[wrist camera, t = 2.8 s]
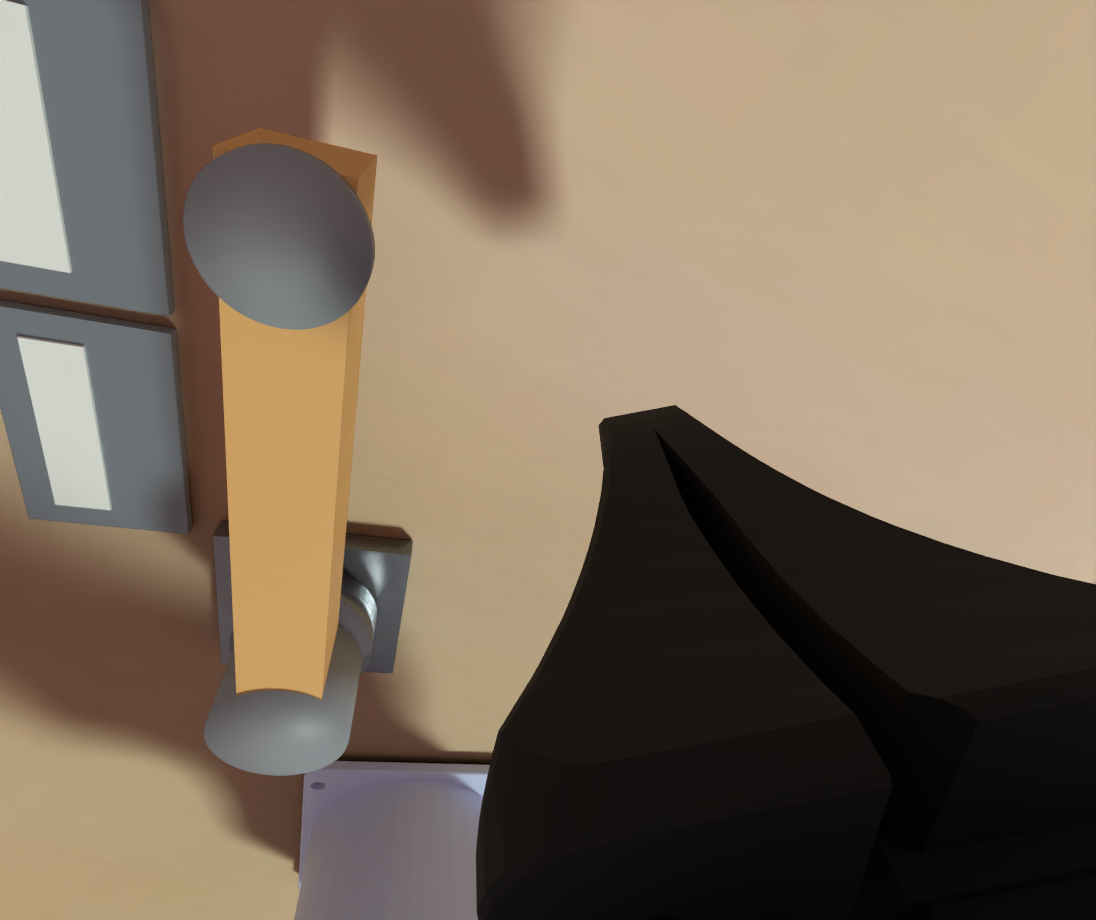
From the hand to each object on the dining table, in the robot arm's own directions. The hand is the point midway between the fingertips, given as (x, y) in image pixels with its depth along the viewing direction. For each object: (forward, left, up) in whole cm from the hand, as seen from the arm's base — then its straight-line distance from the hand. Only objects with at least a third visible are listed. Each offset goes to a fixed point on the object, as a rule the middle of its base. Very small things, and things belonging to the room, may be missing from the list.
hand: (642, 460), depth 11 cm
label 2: (-4, +11, -5) cm, 13 cm away
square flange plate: (-9, +6, -5) cm, 12 cm away
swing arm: (-4, +6, -3) cm, 7 cm away
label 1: (+2, +11, -5) cm, 12 cm away
